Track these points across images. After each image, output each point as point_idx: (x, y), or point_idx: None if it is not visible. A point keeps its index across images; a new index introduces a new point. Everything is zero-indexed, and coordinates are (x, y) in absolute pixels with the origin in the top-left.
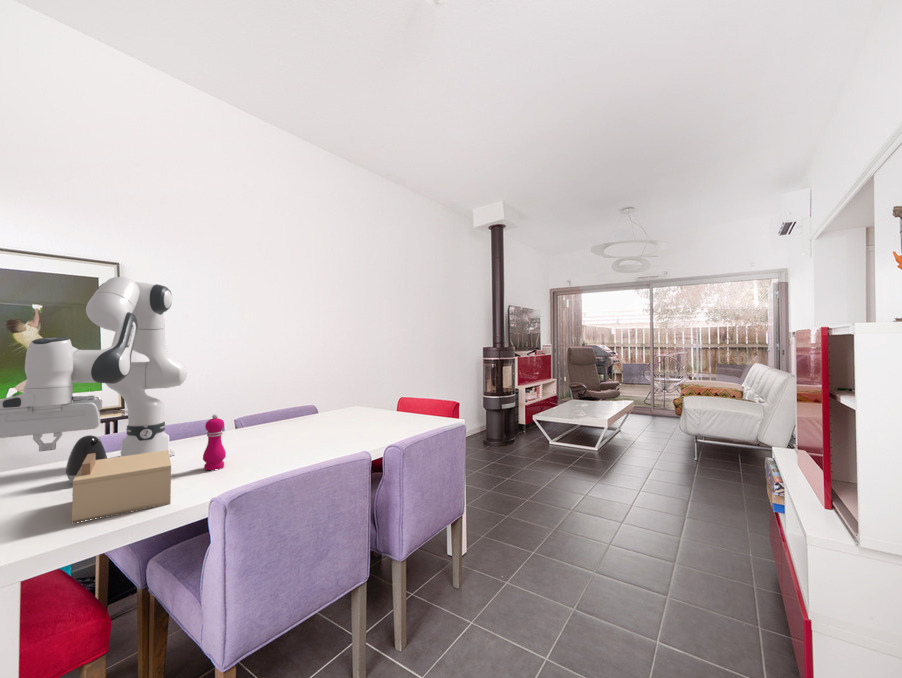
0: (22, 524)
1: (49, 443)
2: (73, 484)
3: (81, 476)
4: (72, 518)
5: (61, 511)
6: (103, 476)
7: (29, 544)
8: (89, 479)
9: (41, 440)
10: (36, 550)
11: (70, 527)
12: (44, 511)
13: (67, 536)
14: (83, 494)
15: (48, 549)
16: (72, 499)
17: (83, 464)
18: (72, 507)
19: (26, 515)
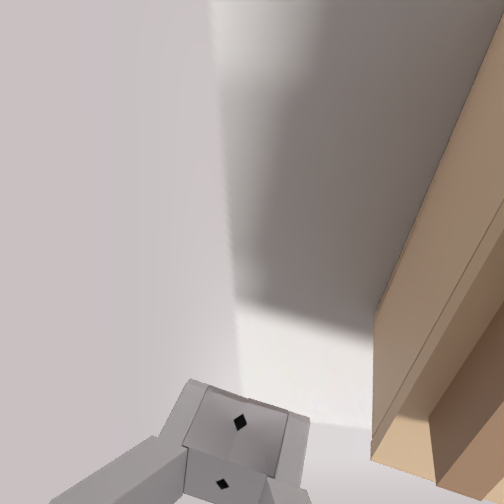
0: (261, 180)
1: (237, 498)
2: (373, 444)
3: (421, 428)
4: (374, 330)
5: (382, 133)
6: (490, 499)
7: (275, 358)
8: (432, 477)
9: (146, 486)
10: (285, 400)
11: (365, 333)
12: (331, 64)
13: (346, 384)
14: None
15: (304, 414)
16: (373, 383)
17: (443, 484)
18: (373, 360)
19: (271, 63)
